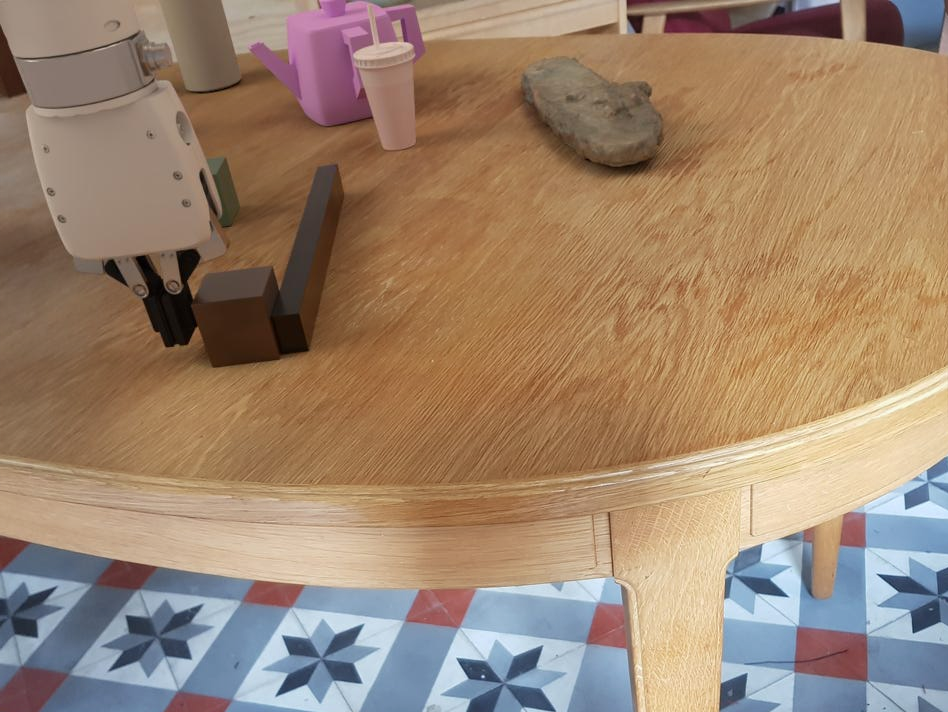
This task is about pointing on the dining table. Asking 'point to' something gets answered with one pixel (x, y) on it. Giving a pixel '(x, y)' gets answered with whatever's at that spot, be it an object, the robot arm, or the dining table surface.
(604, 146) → the long grey stone
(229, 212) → the green block
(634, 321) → the dining table surface
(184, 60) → the travel mug
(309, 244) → the rail
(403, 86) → the smoothie
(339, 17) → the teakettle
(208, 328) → the walnut block
